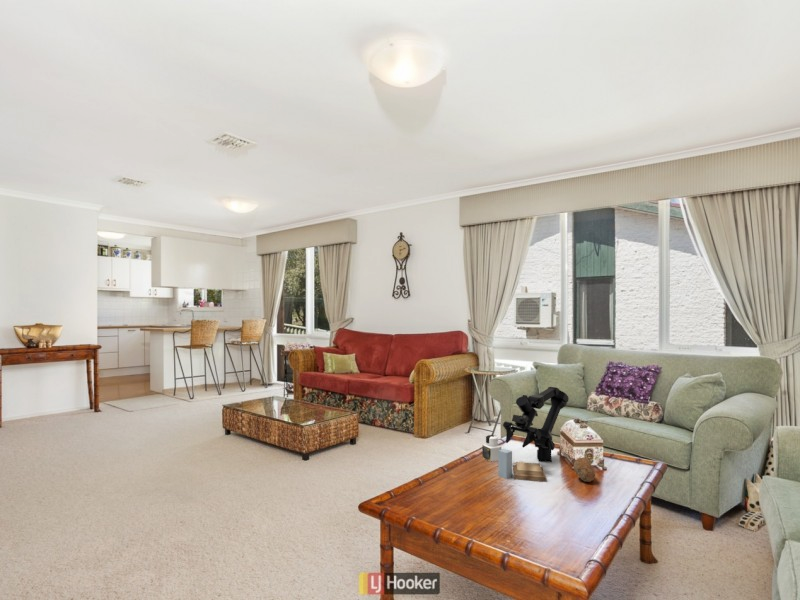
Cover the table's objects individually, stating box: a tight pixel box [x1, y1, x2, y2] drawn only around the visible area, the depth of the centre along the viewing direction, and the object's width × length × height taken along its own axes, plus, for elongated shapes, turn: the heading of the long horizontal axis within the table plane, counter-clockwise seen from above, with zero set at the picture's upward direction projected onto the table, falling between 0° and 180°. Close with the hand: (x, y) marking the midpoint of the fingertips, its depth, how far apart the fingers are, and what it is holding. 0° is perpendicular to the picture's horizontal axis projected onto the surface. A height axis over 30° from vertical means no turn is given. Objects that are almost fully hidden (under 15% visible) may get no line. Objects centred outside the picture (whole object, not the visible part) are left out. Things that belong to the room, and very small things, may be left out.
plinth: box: [512, 461, 547, 483], centre depth 216 cm, size 14×14×4 cm
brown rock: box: [573, 456, 596, 483], centre depth 211 cm, size 10×13×10 cm
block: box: [497, 448, 513, 480], centre depth 215 cm, size 4×4×12 cm
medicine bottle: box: [482, 434, 502, 463], centre depth 239 cm, size 7×7×12 cm
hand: (514, 444), depth 220 cm, fingers open, 9 cm apart
